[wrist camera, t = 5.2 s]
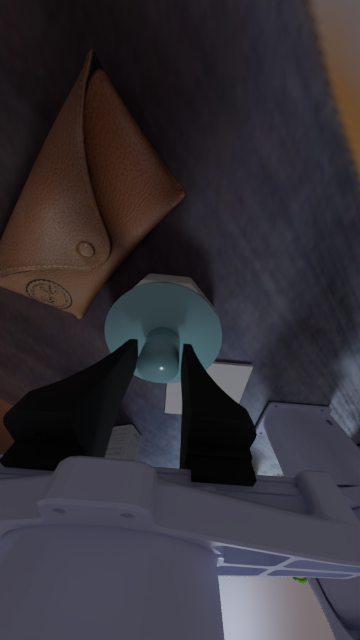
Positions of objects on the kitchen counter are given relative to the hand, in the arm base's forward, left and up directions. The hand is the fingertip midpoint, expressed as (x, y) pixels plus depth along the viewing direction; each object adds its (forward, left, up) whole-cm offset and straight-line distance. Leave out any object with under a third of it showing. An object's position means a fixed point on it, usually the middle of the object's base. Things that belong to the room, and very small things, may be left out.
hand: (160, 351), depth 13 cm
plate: (-6, +11, -6) cm, 14 cm away
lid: (0, 0, -3) cm, 3 cm away
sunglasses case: (+8, -8, -7) cm, 13 cm away
